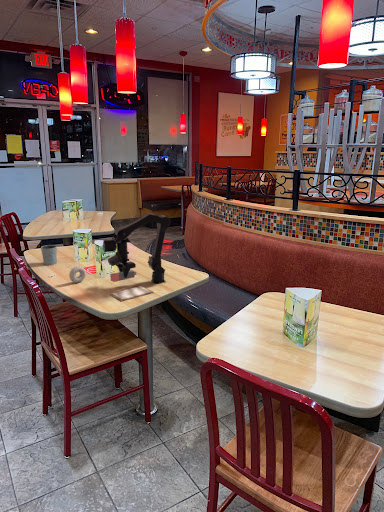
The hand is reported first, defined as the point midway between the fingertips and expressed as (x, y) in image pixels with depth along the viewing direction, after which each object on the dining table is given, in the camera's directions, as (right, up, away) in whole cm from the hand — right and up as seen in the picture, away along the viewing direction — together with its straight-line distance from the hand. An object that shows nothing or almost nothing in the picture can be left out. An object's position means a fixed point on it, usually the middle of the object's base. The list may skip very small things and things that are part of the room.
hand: (123, 276), depth 216 cm
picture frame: (+6, -9, -9) cm, 14 cm away
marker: (0, -1, 0) cm, 1 cm away
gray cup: (-58, +6, +45) cm, 73 cm away
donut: (-28, -4, +8) cm, 30 cm away
